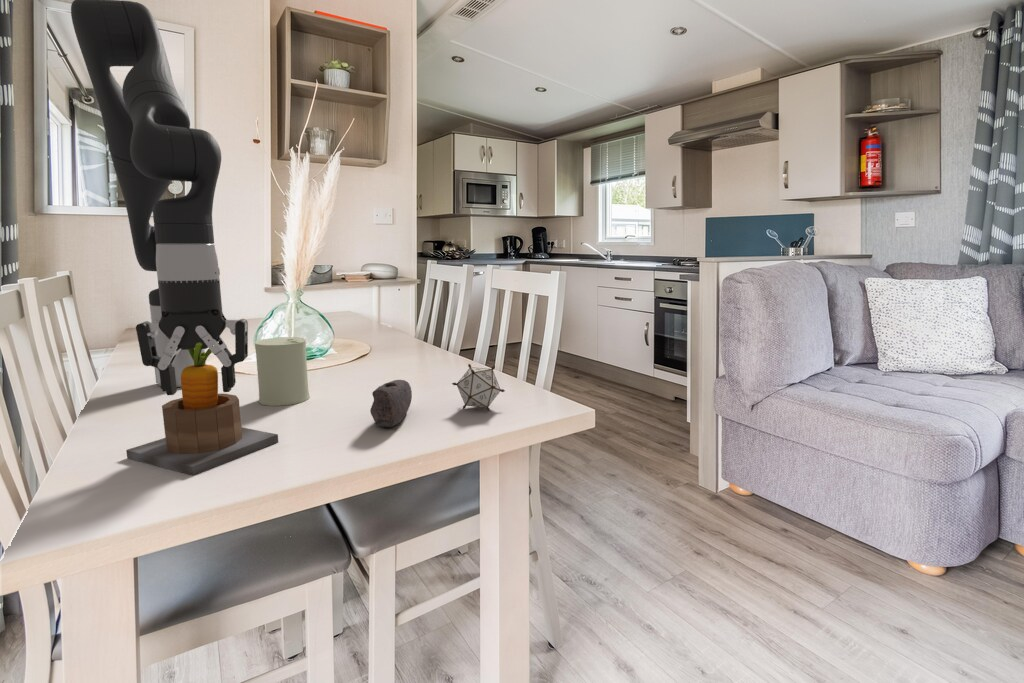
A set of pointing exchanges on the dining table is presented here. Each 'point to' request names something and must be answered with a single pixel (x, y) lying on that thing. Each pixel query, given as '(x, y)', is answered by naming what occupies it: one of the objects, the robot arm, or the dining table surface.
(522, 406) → the dining table surface
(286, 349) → the can
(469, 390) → the game die
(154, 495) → the dining table surface
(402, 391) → the perforated stone tool
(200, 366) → the carrot
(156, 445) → the holder
